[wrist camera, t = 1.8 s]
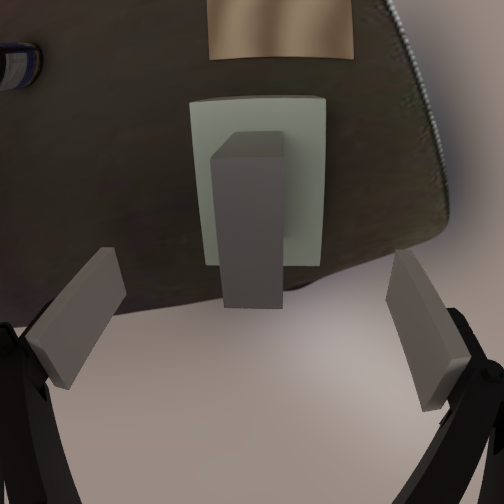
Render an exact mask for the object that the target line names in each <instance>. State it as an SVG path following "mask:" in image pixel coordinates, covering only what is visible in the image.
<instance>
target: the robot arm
mask: <svg viewBox="0 0 504 504" xmlns="http://www.w3.org/2000/svg"><path fill="white" fill-rule="evenodd" d="M126 294H127V293H126V290H125V286H124V283H123V279H122V276H121V272H120V268H119V265H118V261H117V257H116V253H115V249H114V247H101V248H100V249H99V250H98V251H97V252H96V254H95V255H94V256H93V257H92V258H91V259H90V260H89V261H88V262H87V263H86V264H85V265H84V267H83V268H82V269H81V270H80V271H79V272H78V273H77V274H76V275H75V277H74V278H73V279H72V280H71V281H70V282H69V283H68V285H67V286H66V287H65V288H64V289H63V290H62V291H61V293H60V294H59V295H58V296H57V297H56V298H54V299H53V300H51V301H50V302H48V303H47V304H46V305H45V306H44V307H43V308H42V310H41V311H40V313H38V314H37V316H36V317H35V319H33V320H32V322H31V323H30V324H29V325H28V327H27V328H26V329H25V331H24V332H23V333H22V334H21V336H20V337H19V338H18V336H17V335H16V333H15V331H14V329H13V327H12V325H11V324H10V323H8V322H2V323H0V504H4V481H5V486H6V491H7V496H8V500H9V504H82V503H81V500H80V497H79V495H78V492H77V489H76V487H75V484H74V481H73V478H72V475H71V473H70V469H69V466H68V463H67V460H66V457H65V454H64V450H63V447H62V444H61V440H60V436H59V432H58V428H57V425H56V420H55V416H54V412H53V408H52V403H51V398H50V393H49V389H48V386H47V384H46V383H45V381H46V380H47V378H48V377H49V378H50V379H51V381H52V383H53V384H54V386H56V387H59V388H63V389H66V390H69V389H70V387H71V385H72V383H73V382H74V380H75V378H76V376H77V375H78V373H79V371H80V369H81V368H82V366H83V364H84V362H85V361H86V359H87V357H88V356H89V354H90V352H91V351H92V349H93V347H94V345H95V344H96V342H97V340H98V339H99V337H100V335H101V334H102V332H103V331H104V329H105V327H106V326H107V324H108V323H109V321H110V319H111V318H112V316H113V315H114V313H115V311H116V310H117V308H118V307H119V305H120V304H121V302H122V300H123V299H124V297H125V296H126ZM386 302H387V305H388V307H389V310H390V313H391V315H392V318H393V321H394V324H395V326H396V329H397V332H398V335H399V337H400V341H401V344H402V346H403V350H404V353H405V356H406V358H407V362H408V365H409V368H410V371H411V374H412V377H413V380H414V384H415V387H416V391H417V394H418V397H419V401H420V404H421V408H422V411H423V412H426V411H432V410H438V409H441V408H442V406H443V405H444V403H445V402H446V400H448V403H449V406H450V409H449V410H448V412H447V413H446V415H445V416H444V417H443V419H442V420H441V422H440V423H439V424H440V427H439V429H438V431H437V433H436V434H435V436H434V438H433V440H432V442H431V443H430V445H429V447H428V449H427V450H426V452H425V454H424V455H423V457H422V459H421V460H420V462H419V464H418V465H417V467H416V469H415V470H414V472H413V473H412V475H411V476H410V478H409V479H408V481H407V482H406V484H405V485H404V487H403V488H402V490H401V491H400V493H399V494H398V495H397V497H396V498H395V500H394V501H393V502H392V504H459V502H460V500H461V499H462V497H463V495H464V493H465V491H466V489H467V486H468V485H469V482H470V480H471V478H472V476H473V474H474V472H475V469H476V467H477V465H478V463H479V460H480V458H481V456H482V453H483V451H484V448H485V445H486V443H487V440H488V438H489V443H488V450H487V458H486V463H485V469H484V475H483V481H482V485H481V490H480V494H479V499H478V503H477V504H504V369H503V367H502V366H501V365H500V364H499V363H497V362H495V361H493V360H489V359H487V357H486V355H485V354H484V351H483V349H482V348H481V346H480V344H479V342H478V340H477V338H476V336H475V335H474V334H473V331H472V329H471V328H470V327H469V324H468V322H467V321H466V319H465V317H464V316H463V314H461V313H460V312H459V311H458V310H457V309H456V308H446V307H445V305H444V304H443V302H442V300H441V298H440V297H439V295H438V293H437V291H436V290H435V288H434V286H433V285H432V283H431V281H430V280H429V278H428V276H427V275H426V273H425V271H424V270H423V268H422V267H421V265H420V264H419V262H418V260H417V259H416V257H415V255H414V254H413V252H412V251H411V250H396V252H395V258H394V263H393V268H392V272H391V278H390V282H389V287H388V291H387V296H386Z"/></svg>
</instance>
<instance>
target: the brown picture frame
mask: <svg viewBox="0 0 504 504" xmlns="http://www.w3.org/2000/svg"><path fill="white" fill-rule="evenodd" d="M207 15H208V38H209V58H210V60H223V59H236V58H256V57H315V58H335V59H349V60H353V59H354V50H353V25H352V9H351V0H207Z"/></svg>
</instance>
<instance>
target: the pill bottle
mask: <svg viewBox="0 0 504 504" xmlns="http://www.w3.org/2000/svg"><path fill="white" fill-rule="evenodd" d="M41 64H42V56H41V53H40V50H39V48H38V47H37V46H36V45H35V44H33V43H0V92H3V91H8V90H13V89H18V88H24V87H27V86H29V85H30V84H31V83H32V82H33V81H34V80H35V79H36V77H37V76H38V74H39V72H40V69H41Z"/></svg>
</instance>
